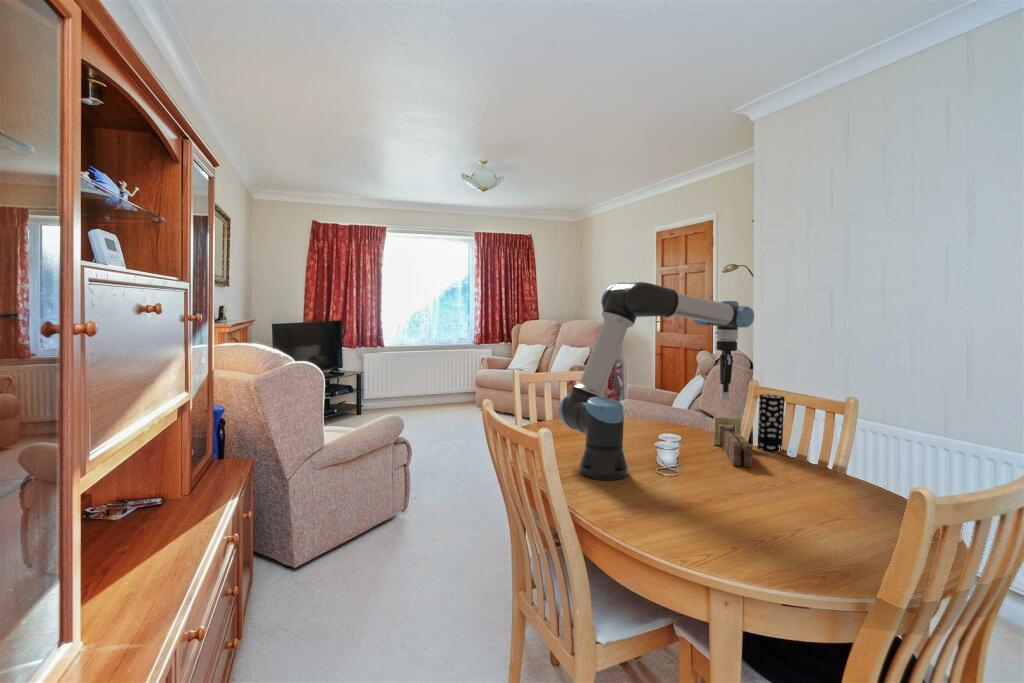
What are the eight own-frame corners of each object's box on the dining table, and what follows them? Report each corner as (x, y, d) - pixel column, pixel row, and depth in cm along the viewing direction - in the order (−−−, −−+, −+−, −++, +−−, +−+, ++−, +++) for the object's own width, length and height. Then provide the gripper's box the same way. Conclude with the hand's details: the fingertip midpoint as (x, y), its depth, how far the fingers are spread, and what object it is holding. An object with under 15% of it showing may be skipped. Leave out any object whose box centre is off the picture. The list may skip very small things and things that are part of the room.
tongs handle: (718, 442, 201) (718, 421, 201) (730, 442, 200) (730, 422, 200) (723, 449, 190) (724, 428, 190) (736, 450, 190) (737, 429, 189)
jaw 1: (723, 449, 191) (723, 430, 190) (729, 449, 190) (730, 430, 190) (733, 465, 171) (734, 444, 171) (740, 466, 171) (741, 445, 170)
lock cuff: (712, 442, 199) (713, 416, 199) (738, 444, 197) (739, 417, 197) (714, 444, 196) (715, 417, 196) (739, 446, 194) (741, 419, 194)
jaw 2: (730, 449, 190) (731, 430, 190) (736, 449, 190) (737, 431, 189) (744, 466, 170) (745, 445, 170) (751, 466, 170) (752, 446, 170)
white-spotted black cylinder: (752, 447, 194) (754, 395, 193) (767, 444, 198) (769, 393, 196) (771, 453, 187) (774, 399, 185) (787, 450, 190) (789, 397, 189)
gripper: (713, 339, 208) (711, 396, 209) (719, 341, 195) (717, 402, 196) (733, 339, 206) (731, 397, 208) (741, 341, 193) (738, 403, 195)
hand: (724, 399), depth 202 cm, fingers closed
